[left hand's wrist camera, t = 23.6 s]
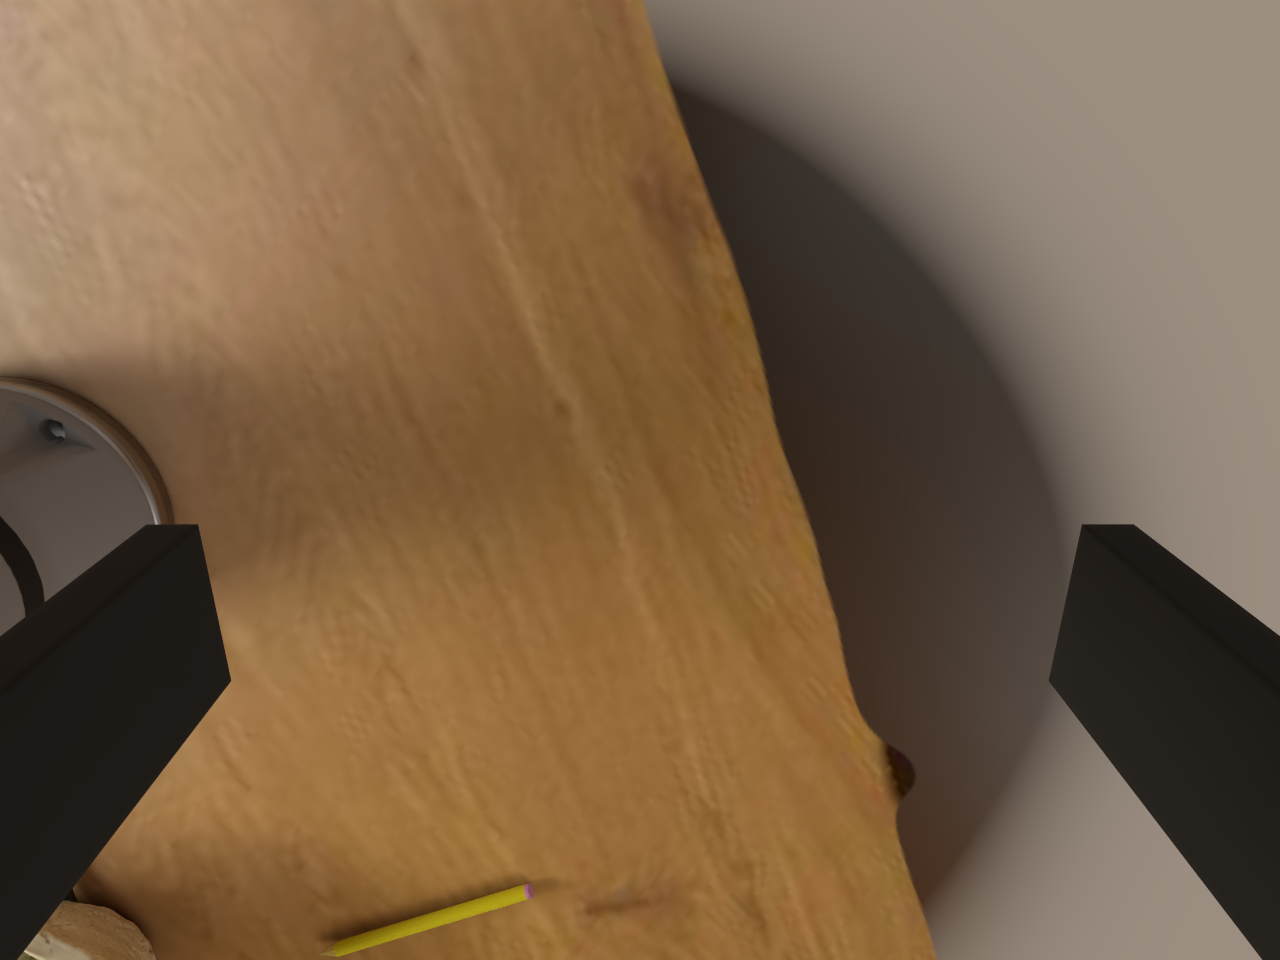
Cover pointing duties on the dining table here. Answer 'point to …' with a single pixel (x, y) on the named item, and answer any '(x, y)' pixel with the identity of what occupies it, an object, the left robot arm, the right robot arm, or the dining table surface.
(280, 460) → the dining table surface
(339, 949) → the pencil
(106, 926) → the bowl
